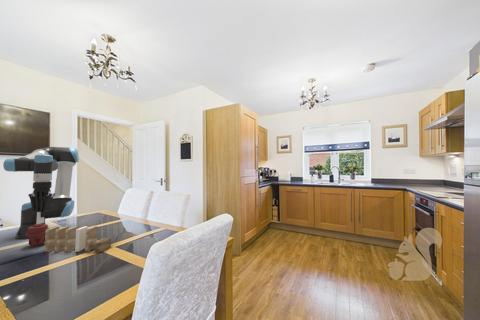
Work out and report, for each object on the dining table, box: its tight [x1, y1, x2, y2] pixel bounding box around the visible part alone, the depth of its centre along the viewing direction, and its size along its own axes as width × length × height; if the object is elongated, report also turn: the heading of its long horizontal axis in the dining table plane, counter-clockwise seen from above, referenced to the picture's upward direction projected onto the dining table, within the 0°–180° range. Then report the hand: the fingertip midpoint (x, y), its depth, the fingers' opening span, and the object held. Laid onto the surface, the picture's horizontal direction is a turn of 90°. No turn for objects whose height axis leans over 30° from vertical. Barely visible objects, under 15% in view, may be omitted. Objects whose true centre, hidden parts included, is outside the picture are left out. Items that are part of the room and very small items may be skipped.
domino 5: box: [84, 225, 99, 252], centre depth 108 cm, size 2×6×12 cm, turn 1°
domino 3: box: [64, 226, 80, 253], centre depth 108 cm, size 2×6×12 cm, turn 1°
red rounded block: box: [25, 223, 49, 249], centre depth 114 cm, size 12×10×10 cm
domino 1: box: [44, 226, 60, 253], centre depth 108 cm, size 2×6×12 cm, turn 1°
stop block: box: [93, 237, 112, 253], centre depth 108 cm, size 4×8×5 cm, turn 1°
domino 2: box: [54, 226, 70, 253], centre depth 108 cm, size 2×6×12 cm, turn 1°
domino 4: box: [74, 225, 89, 253], centre depth 108 cm, size 2×6×12 cm, turn 1°
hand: (40, 223), depth 108 cm, fingers closed
